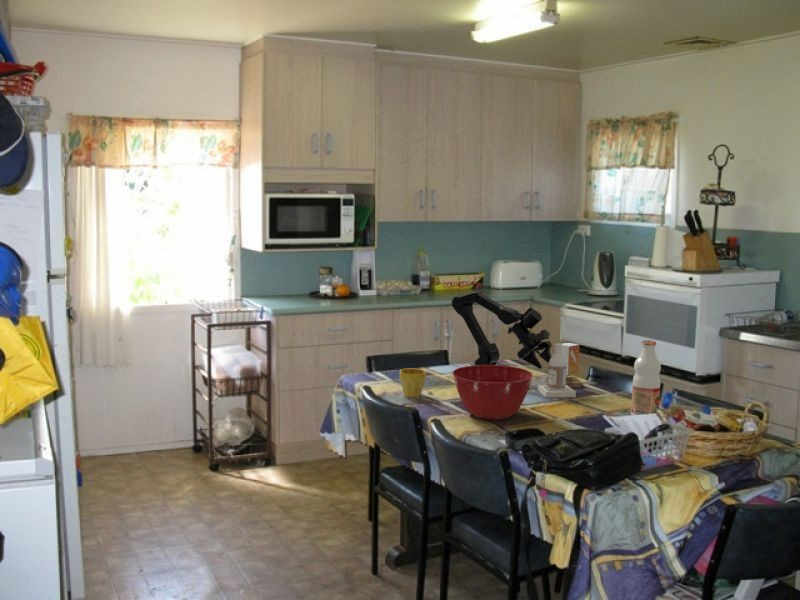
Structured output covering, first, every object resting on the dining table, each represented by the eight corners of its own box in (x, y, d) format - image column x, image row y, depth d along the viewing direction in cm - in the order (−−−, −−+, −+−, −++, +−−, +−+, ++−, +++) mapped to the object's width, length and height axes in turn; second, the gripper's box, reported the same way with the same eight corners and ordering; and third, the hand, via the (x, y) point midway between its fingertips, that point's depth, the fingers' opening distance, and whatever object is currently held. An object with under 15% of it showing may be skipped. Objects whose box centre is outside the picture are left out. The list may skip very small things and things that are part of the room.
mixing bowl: (475, 429, 278) (476, 384, 276) (437, 408, 304) (438, 367, 302) (546, 421, 290) (548, 378, 288) (504, 402, 316) (506, 362, 314)
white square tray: (545, 397, 324) (546, 392, 324) (537, 390, 336) (538, 385, 336) (575, 397, 326) (576, 392, 325) (566, 389, 337) (566, 385, 337)
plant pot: (426, 398, 318) (427, 373, 317) (400, 398, 318) (400, 373, 316) (424, 392, 329) (424, 368, 327) (398, 392, 328) (398, 368, 327)
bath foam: (543, 392, 331) (546, 343, 329) (554, 390, 336) (556, 341, 334) (557, 396, 326) (560, 346, 324) (568, 393, 331) (571, 344, 328)
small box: (568, 375, 365) (569, 346, 363) (556, 373, 370) (557, 344, 368) (578, 373, 371) (579, 344, 369) (566, 370, 375) (567, 342, 373)
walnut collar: (554, 387, 341) (554, 382, 341) (546, 381, 353) (546, 376, 353) (582, 387, 342) (583, 382, 342) (573, 381, 354) (574, 376, 354)
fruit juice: (627, 415, 300) (631, 338, 296) (652, 415, 300) (657, 339, 297) (635, 422, 291) (640, 343, 287) (662, 422, 291) (666, 343, 287)
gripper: (525, 326, 327) (548, 357, 321) (548, 321, 341) (571, 351, 335) (507, 343, 333) (530, 374, 327) (531, 337, 347) (553, 367, 341)
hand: (547, 366), depth 333 cm, fingers open, 9 cm apart
